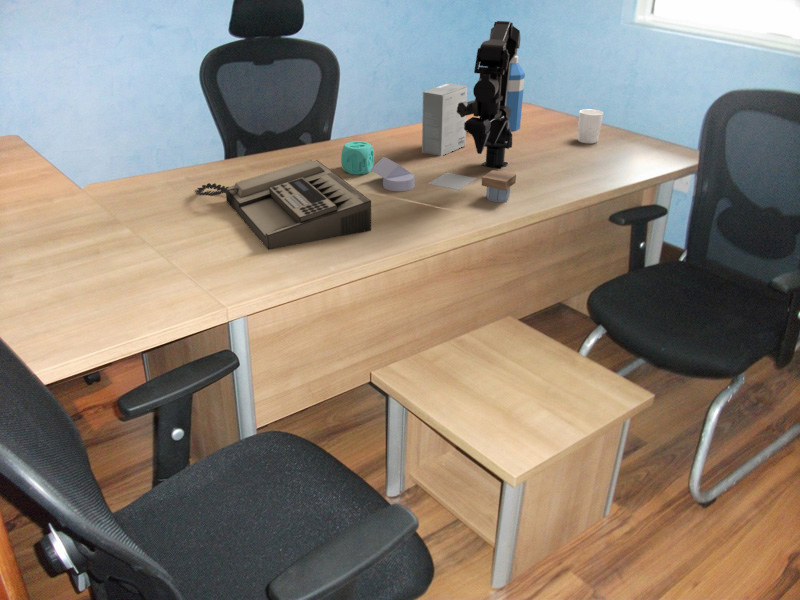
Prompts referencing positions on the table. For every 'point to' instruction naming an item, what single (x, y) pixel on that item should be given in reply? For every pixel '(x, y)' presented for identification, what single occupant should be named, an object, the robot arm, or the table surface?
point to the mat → (452, 181)
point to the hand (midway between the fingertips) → (486, 148)
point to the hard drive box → (443, 119)
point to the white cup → (589, 125)
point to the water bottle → (515, 94)
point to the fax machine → (297, 205)
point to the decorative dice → (357, 157)
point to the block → (498, 180)
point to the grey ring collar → (497, 194)
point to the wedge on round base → (394, 175)
